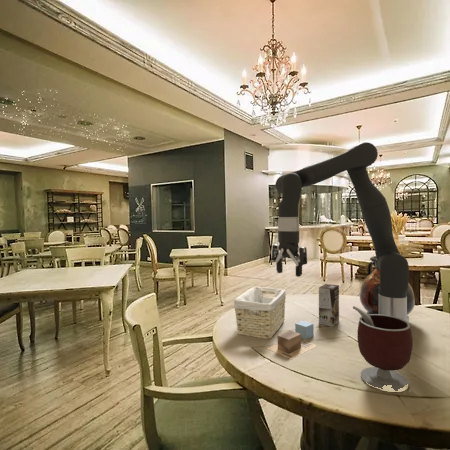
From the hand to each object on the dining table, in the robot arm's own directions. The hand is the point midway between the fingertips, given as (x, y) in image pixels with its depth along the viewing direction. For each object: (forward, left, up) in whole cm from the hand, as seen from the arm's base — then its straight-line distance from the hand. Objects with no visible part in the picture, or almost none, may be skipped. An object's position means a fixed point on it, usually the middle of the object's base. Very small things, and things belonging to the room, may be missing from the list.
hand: (288, 274), depth 108 cm
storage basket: (+19, -6, -27) cm, 34 cm away
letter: (-1, 0, -26) cm, 26 cm away
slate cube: (+2, -12, -27) cm, 29 cm away
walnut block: (-1, +1, -26) cm, 26 cm away
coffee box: (+3, -32, -27) cm, 42 cm away
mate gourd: (-31, -2, -27) cm, 41 cm away
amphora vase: (-13, -52, -27) cm, 60 cm away
